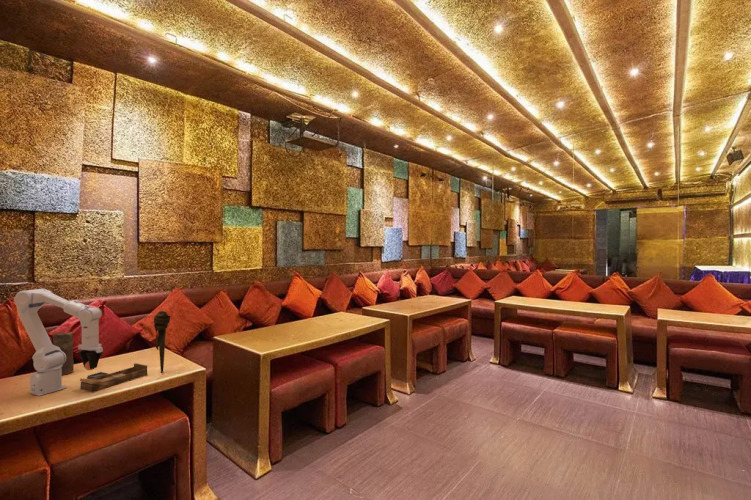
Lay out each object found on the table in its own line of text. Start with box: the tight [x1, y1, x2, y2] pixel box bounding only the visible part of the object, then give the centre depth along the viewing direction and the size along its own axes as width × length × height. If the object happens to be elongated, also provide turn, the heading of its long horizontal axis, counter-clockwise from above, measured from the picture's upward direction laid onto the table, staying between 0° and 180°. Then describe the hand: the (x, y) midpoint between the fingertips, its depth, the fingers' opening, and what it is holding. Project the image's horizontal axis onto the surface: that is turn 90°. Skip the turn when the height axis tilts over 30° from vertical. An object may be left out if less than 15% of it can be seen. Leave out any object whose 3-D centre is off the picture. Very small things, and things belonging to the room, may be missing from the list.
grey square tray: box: [86, 371, 109, 379], centre depth 164 cm, size 6×6×3 cm
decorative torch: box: [153, 310, 171, 374], centre depth 174 cm, size 7×7×30 cm
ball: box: [84, 361, 95, 371], centre depth 153 cm, size 4×4×4 cm
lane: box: [79, 362, 148, 393], centre depth 162 cm, size 23×9×4 cm, turn 155°
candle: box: [52, 331, 75, 376], centre depth 174 cm, size 8×7×20 cm
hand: (90, 367), depth 153 cm, fingers closed on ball, 4 cm apart
